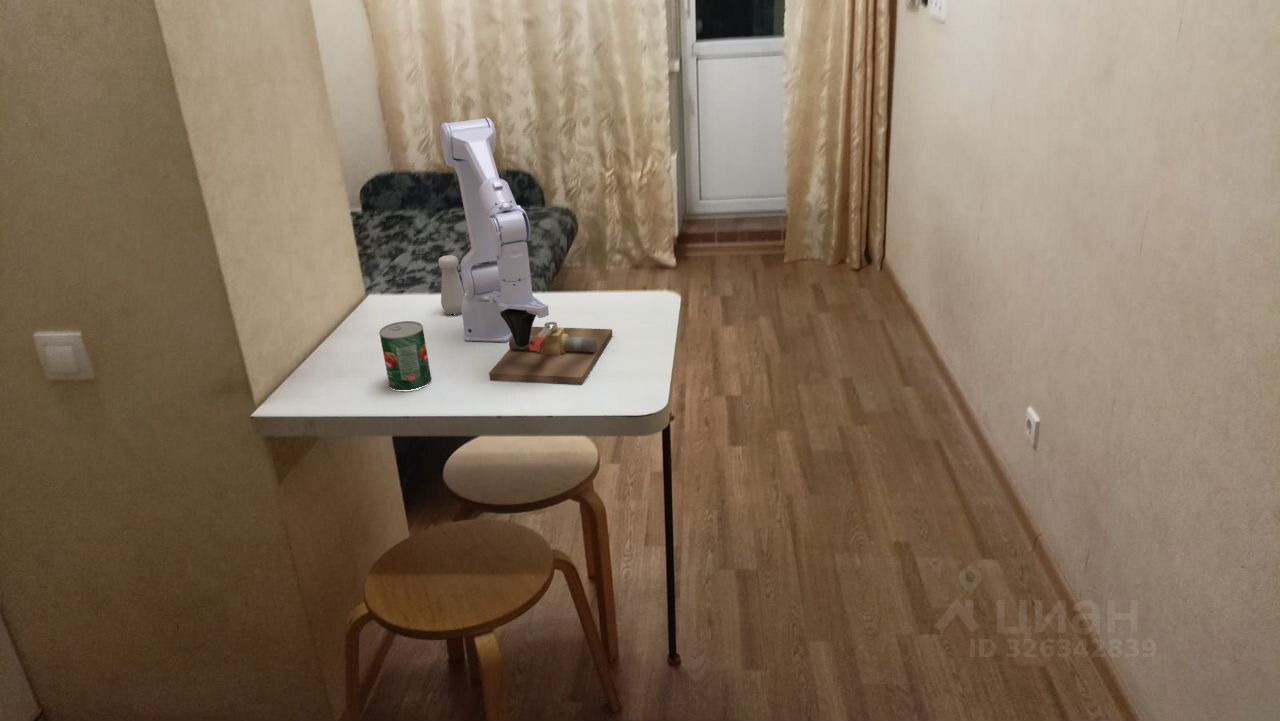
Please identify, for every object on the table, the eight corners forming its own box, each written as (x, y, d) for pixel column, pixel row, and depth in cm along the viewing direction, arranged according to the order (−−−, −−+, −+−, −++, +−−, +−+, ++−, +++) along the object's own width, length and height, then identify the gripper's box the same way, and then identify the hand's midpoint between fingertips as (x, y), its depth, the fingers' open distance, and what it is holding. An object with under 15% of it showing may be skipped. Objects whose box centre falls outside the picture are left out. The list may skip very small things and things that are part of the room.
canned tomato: (440, 380, 174) (431, 326, 170) (406, 395, 169) (396, 340, 165) (414, 370, 179) (405, 317, 175) (380, 385, 174) (370, 331, 169)
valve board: (489, 380, 173) (486, 353, 171) (529, 333, 193) (526, 308, 191) (582, 384, 169) (579, 357, 167) (612, 335, 189) (610, 310, 187)
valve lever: (559, 327, 180) (558, 322, 179) (541, 350, 170) (540, 344, 169) (547, 327, 180) (546, 321, 180) (528, 350, 170) (528, 344, 170)
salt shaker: (456, 305, 211) (448, 251, 206) (474, 310, 208) (466, 254, 203) (437, 314, 207) (428, 258, 201) (455, 318, 204) (446, 262, 198)
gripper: (472, 275, 171) (481, 343, 176) (524, 290, 161) (532, 361, 167) (501, 265, 175) (510, 331, 181) (554, 279, 166) (561, 348, 172)
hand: (522, 344), depth 174 cm, fingers closed
